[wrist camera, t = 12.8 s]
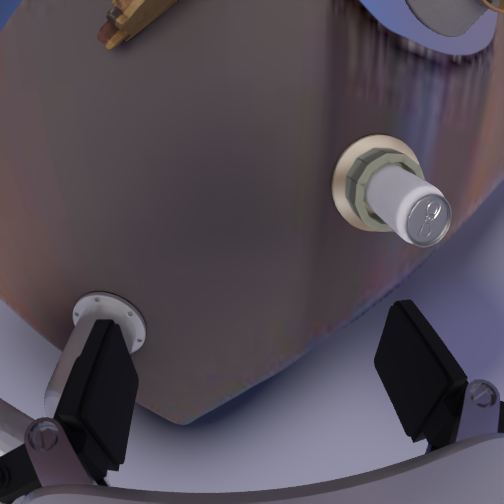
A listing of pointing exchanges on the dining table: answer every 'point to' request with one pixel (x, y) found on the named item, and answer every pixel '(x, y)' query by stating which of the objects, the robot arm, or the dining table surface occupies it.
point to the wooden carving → (130, 19)
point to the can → (408, 205)
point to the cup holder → (367, 176)
